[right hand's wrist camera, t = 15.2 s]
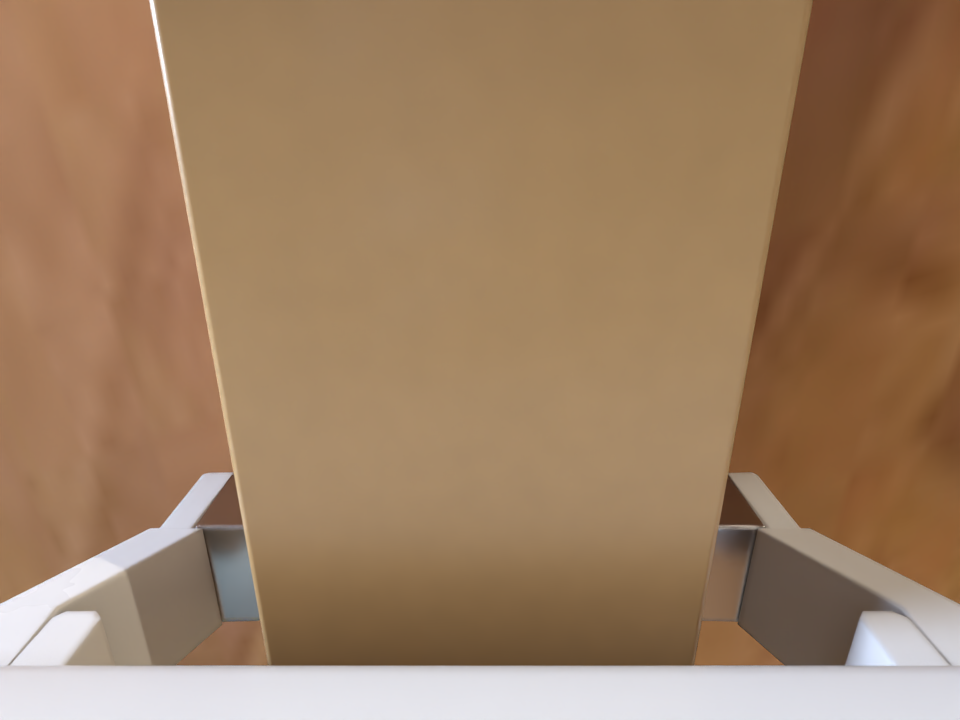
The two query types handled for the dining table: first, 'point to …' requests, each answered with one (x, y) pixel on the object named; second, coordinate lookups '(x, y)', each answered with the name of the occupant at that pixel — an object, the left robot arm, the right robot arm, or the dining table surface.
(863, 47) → the dining table surface
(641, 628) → the bar
